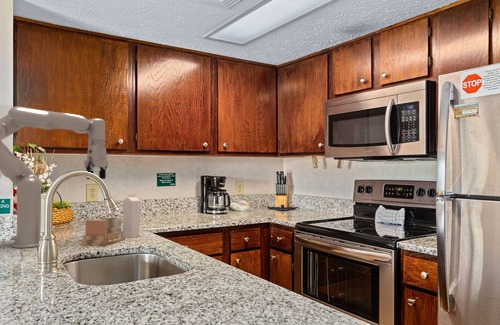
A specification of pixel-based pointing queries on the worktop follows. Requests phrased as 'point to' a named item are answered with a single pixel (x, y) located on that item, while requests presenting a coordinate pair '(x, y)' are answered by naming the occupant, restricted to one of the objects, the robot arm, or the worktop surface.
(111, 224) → the rack
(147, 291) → the worktop surface
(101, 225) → the pink square slab
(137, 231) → the milk
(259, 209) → the worktop surface
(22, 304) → the worktop surface
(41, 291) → the worktop surface
